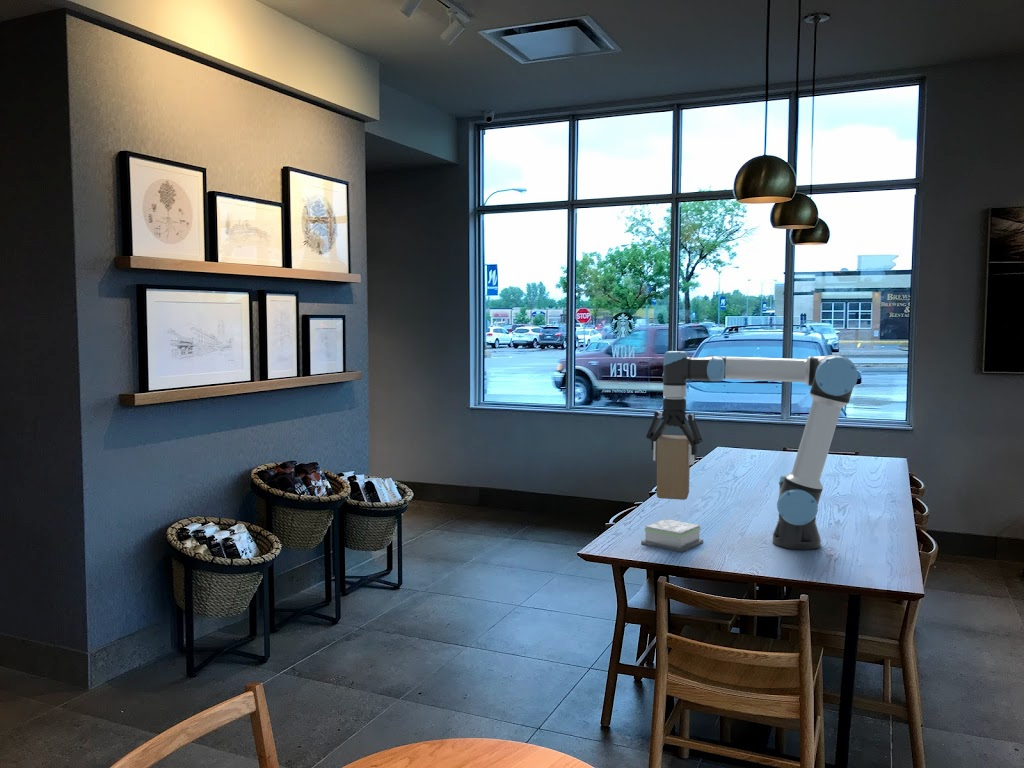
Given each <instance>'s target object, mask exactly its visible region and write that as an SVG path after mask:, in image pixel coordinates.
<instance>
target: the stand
mask: <svg viewBox="0 0 1024 768" xmlns="http://www.w3.org/2000/svg"><path fill="white" fill-rule="evenodd" d="M700 531H701V526H700V524H694V523H690V522H683V521H679V520H678V521H677V520H674V519H673V520H672V519H668V518H667V519H666V518H665V519H662V520H661V519H660V520H659V521H656V522H654V523H651V524H648V525H646V526H645V528H644V532H645V539H644V540H641V542H640V544H641V545H645V546H649V547H654V548H659V549H663V550H668V551H673V552H678V553H684V552H686V551H687V550H690V549H693V548H695V547H697V546H699V545H702V544H703V543H704V539H701V538H700Z"/></svg>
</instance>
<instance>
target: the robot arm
mask: <svg viewBox="0 0 1024 768" xmlns="http://www.w3.org/2000/svg"><path fill="white" fill-rule="evenodd" d="M662 368H663V371H662V372H663V373H662V375H663V376H662V377H663V384H662V385H663V386H662V387H663V388H662V393H663V394H662V396H663V397H664V398H663V399H662V411H660V410H658V411H654V414H653V419H652V422H651V425H650V427H649V428H648V430H647V434H646V439H648V440H649V441H651V445H650V448H651V450H652V451H653V453H652V454H653V457H652V458H653V460H652V461H655V462H657V441H658V439H659V437H660V436H661V435H663V433H664V432H665V430H666V429H667V428H668V426H669V427H671V426H672V427H673V426H674V427H678V428H679V429H680V430H681V431H682V432H683V434H684V436H686V437H687V439H688V440H689V442H690V445H689V450H688V465H690V466H692V465H695V456H696V455H697V453H698V445H700V444H702V443H703V442H704V441H703V438H702V435H701V433H700V430H699V427H698V424H697V422H696V415H695V413H690V414H687V412H686V410H687V399H686V397H687V381H703V382H704V381H707V382H721V381H723V380H744V381H745V380H746V381H763V382H764V381H766V382H767V381H769V382H785V383H787V382H788V383H789V382H790V383H804V384H805V385H806V386H809V387H810V391H809V396H810V397H811V398H812V403H811V406H810V409H809V413H808V416H807V420H806V422H805V426H804V429H803V433H802V437H801V440H800V443H799V446H798V449H797V453H796V457H795V460H794V463H793V466H792V469H791V472H790V473H788V474H782V475H780V478H779V481H778V485H779V486H778V487H779V492H778V499H777V501H776V502H777V503H776V508H777V511H778V520H777V523H776V526H775V529H774V531H773V533H772V534H773V535H772V543H773V544H774V545H776V546H778V547H781V548H785V549H790V550H798V551H799V550H802V551H805V550H808V551H810V550H816V549H819V548H821V541H822V539H821V536H820V533H819V530H818V527H817V523H816V520H817V514H818V511H819V509H818V508H819V507H818V506H819V502H820V499H821V496H822V492H823V489H824V486H823V484H822V482H821V477H822V473H823V471H824V467H825V464H826V462H827V461H826V460H827V458H828V454H829V451H830V448H831V443H832V441H833V437H834V434H835V431H836V428H837V425H838V421H839V418H840V414H841V412H842V411H841V410H842V408H843V407H845V406H847V405H849V403H850V400H851V396H852V393H853V390H854V388H855V387H856V385H857V382H858V376H859V374H858V369H857V367H856V365H855V363H854V362H852V360H851V359H849V358H848V357H845V356H843V355H840V354H829V355H823V356H808V357H806V358H804V359H802V358H798V359H797V358H779V357H778V358H775V357H774V358H773V357H772V358H771V357H748V356H747V357H746V356H745V357H743V356H742V357H741V356H721V355H720V356H718V355H707V356H705V357H690V356H688V353H687V351H683V350H675V351H674V350H669V351H665V353H664V354H663V365H662ZM662 418H663V421H662V422H661V423H660V421H661V419H662ZM686 421H688V422H687V423H688V424H687V423H686ZM659 423H660V424H661V425H659ZM688 425H689V427H688ZM658 426H659V427H658Z"/></svg>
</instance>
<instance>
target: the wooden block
mask: <svg viewBox="0 0 1024 768" xmlns="http://www.w3.org/2000/svg"><path fill="white" fill-rule="evenodd" d="M690 444H691V443H690V442H689V440H688V439H687V437H686V436H685V435H677V434H676V435H674V434H672V435H671V434H670V435H669V434H661V435H660V437H659V438H658V441H657V460H656V498H658V499H665V500H666V499H667V500H681V501H685V500H687V499H688V497H689V494H690V466H691V465H688V450H689V445H690Z"/></svg>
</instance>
